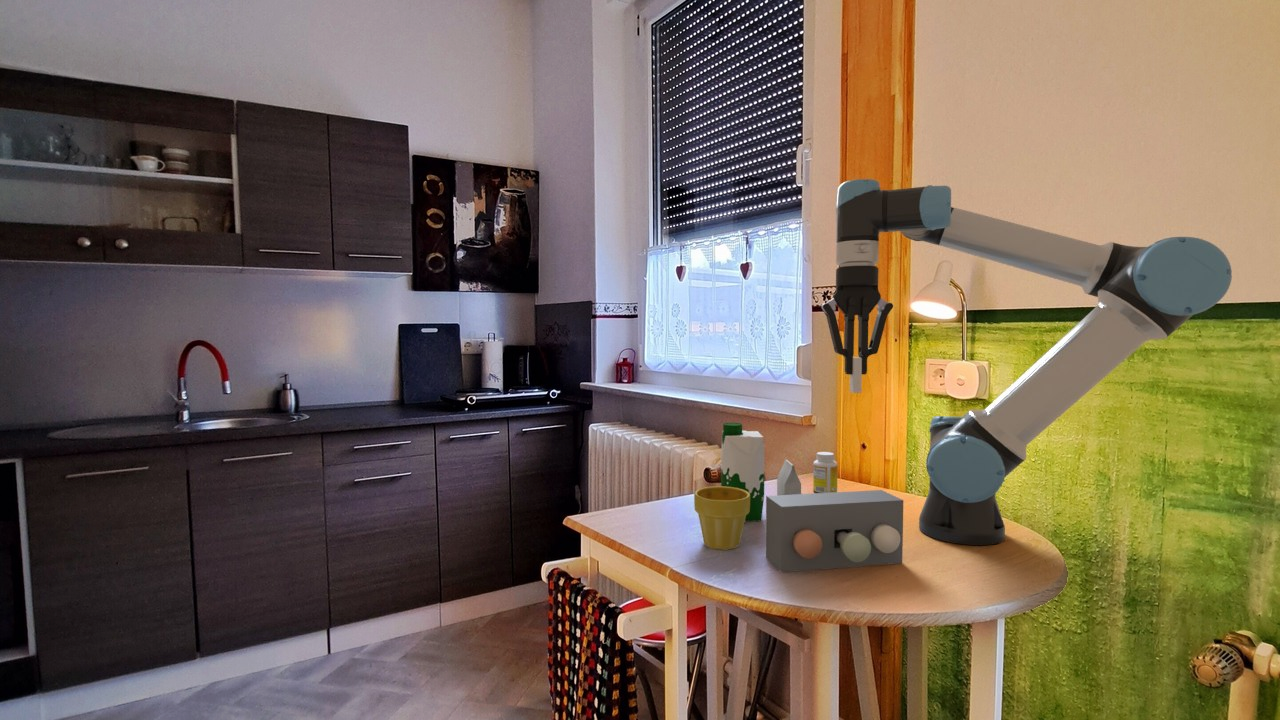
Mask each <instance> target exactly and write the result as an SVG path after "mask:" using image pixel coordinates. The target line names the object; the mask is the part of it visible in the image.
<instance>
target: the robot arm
mask: <svg viewBox="0 0 1280 720" xmlns="http://www.w3.org/2000/svg"><path fill="white" fill-rule="evenodd" d="M836 200H837V201H836V207H835V213H836V218H835V219H836V220H835V221H836V228H835V229H836V245H835V247H836V248H835V250H836V251H835V253H836V254H835V255H836V256H835V259H836V260H835V264H836V265H838V266H839V267H837V268H836V269H835V292H834V293H833V295H832V299H830V300H828V301H827V302H826V303H821V305H820V309H821V310H822V312H823V313H824V315H825V316H826V320H827V321H826V322H827V325H828V329H829V334H830V338H831V341H832V342H831V343H832V345H833V350H834V353H836V354H837V355H841V356H842V357H843V358H844V373H845V375H849V392H850V393H852V394H855V393H856V394H859V393H860V394H861V393H862V376H863V375H867V373H868V358H869V357H870V356H872V355H876V354H877V353H878V352H879V348H880V345H881V340H882V337H883V335H884V334H883V332H884V329H885V326H886V322H887V318H888V315H889V314H890V312H891V310H892V309H893V308H894V304H893V303H892V302H888V301H886V300H884V299H883V298H882V295H881V293H880V290H879V267H878V266H876V264H878V263H879V241H880V233H889V232H890V233H891V232H901V233H902V235H903V236H904V237H905V238H907V239H909V240H911V241H915V242H925V243H929V244H932V245H936V246H940V247H943V248H947V249H949V250H950V249H951V250H954V251H958V252H960V253H965V254H968V255H971V256H974V257H975V256H976V257H979V258H981V259H982V258H983V259H986V260H988V261H989V260H990V261H991V262H992V261H993V262H996V263H999V264H1002V265H1006V266H1010V267H1013V268H1017V269H1020V270H1023V271H1027V272H1031V273H1035V274H1037V275H1041V276H1044V277H1048V278H1050V279H1054V280H1058V281H1060V282H1061V281H1063V282H1065V283H1068V284H1073V285H1076V286H1079V287H1081V288H1082V290H1083V292H1084V294H1086V295H1088V296H1093V297H1095V298H1097V305H1096V307H1094V308H1093V309H1092V310H1091V311H1090V312H1089V313H1088V314H1087V315H1086V316H1085V317H1083V319H1081V320H1080V321H1079V322H1078V323H1077V324H1076V325H1075V326H1073V328H1072V329H1070V330H1069V331H1068V332H1067V333H1066V334H1065V335H1064V336H1063V337H1061V338H1060V339H1059V340H1058V341H1057V342H1056V343H1055V344H1054V345H1053V346H1052V347H1051V348H1050V349H1049V350H1047V352H1045V353H1044V354H1043V355H1042V356H1041V357H1040V358H1039V359H1038V360H1037V361H1035V363H1033V365H1031V366H1030V367H1029V368H1028V369H1027V370H1025V372H1024V373H1022V374H1021V375H1020V376H1019V377H1018V378H1017V379H1015V381H1013V383H1011V384H1010V385H1009V386H1008V388H1005V390H1004V391H1003V392H1002V393H1001V394H999V396H998V397H996V398H995V399H994V400H993V401H992V402H991V403H990V404H989V405H988V406H987V407H986V408H984V409H970V410H968V411H967V412H966V413H965V414H964V415H963V416H946V415H945V416H944V415H943V416H942V415H937V416H933V417H932V418H931V419H930V426H929V430H928V431H929V433H930V435H929V436H930V438H929V439H930V440H929V450H928V454H927V457H926V462H925V463H926V464H925V465H926V467H925V468H926V471H927V474H928V477H929V487H928V489H929V490H928V494H927V496H926V499H925V502H924V504H923V507H922V508H921V512H920V514H919V521H918V528H919V531H920V532H921V533H923V534H925V535H927V536H929V537H931V538H934V539H936V540H941V541H944V542H948V543H954V544H960V545H968V546H970V545H971V546H989V545H990V546H991V545H997V544H1001V543H1003V542H1004V541H1005V539H1006V526H1005V523H1004V519H1003V516H1002V514H1001V511H1000V507H999V505H998V502H997V499H996V493H997V492H998V491H999V490H1000V488H1001V487H1002V485H1003V483H1004V481H1005V478H1006V477H1007V476H1009V474H1010V473H1012V472H1013V471H1014V470H1016V469H1017V467H1018V466H1020V465H1021V464H1022V463H1023V462H1024V461H1025V460H1027V446H1028V444H1030V443H1031V442H1032V441H1033V440H1035V438H1037V437H1038V436H1039V435H1040V434H1041V433H1043V432H1044V431H1045V430H1046V429H1047V428H1048V427H1049V426H1051V425H1052V424H1053V423H1054V422H1055V421H1056V420H1058V418H1060V417H1061V416H1062V415H1063V414H1065V413H1066V412H1067V411H1068V410H1069V409H1070V408H1071V407H1072V406H1074V405H1075V404H1076V403H1077V402H1078V401H1079V400H1080V399H1082V397H1084V396H1085V395H1086V394H1088V393H1089V392H1090V391H1091V390H1092V389H1093V388H1094V387H1096V385H1097V384H1099V383H1100V382H1101V381H1102V380H1103V379H1105V378H1106V377H1107V376H1108V375H1109V374H1110V373H1112V371H1114V370H1115V369H1116V368H1117V367H1118V366H1119V365H1121V364H1122V363H1123V362H1124V361H1125V360H1126V359H1128V358H1129V357H1130V356H1131V355H1132V354H1133V353H1134V352H1136V351H1137V349H1139V348H1140V347H1141V346H1142V345H1143V344H1144V343H1146V342H1148V341H1150V340H1151V341H1152V340H1153V341H1155V340H1165V339H1167V338H1168V337H1169V336H1170V335H1172V334H1173V333H1174V332H1175V331H1177V329H1179V328H1180V327H1181V326H1182V325H1183V324H1184V323H1186V321H1187V320H1189V319H1190V318H1191V317H1193V315H1198V314H1201V313H1202V312H1205V311H1207V310H1208V309H1211V308H1212V307H1214V306H1215V305H1216V304H1217V303H1218V302H1220V301H1221V300H1222V299H1223V298H1224V297H1225V295H1226V294H1227V292H1228V291H1229V289H1230V286H1231V284H1232V283H1231V282H1232V277H1233V276H1232V266H1231V263H1230V260H1229V259H1228V256H1227V255H1225V253H1224V252H1223V251H1222V249H1220V248H1219V247H1218V246H1217V245H1215V244H1214V243H1212V242H1210V241H1208V240H1205V239H1203V238H1198V237H1193V236H1172V237H1167V238H1163V239H1160V240H1157V241H1155V242H1154V243H1153V244H1151V245H1148V246H1132V245H1125V244H1121V243H1118V242H1117V243H1116V242H1114V241H1113V242H1112V241H1110V242H1107V243H1105V244H1095V243H1092V242H1088V241H1084V240H1081V239H1076V238H1073V237H1068V236H1066V235H1062V234H1057V233H1054V232H1049V231H1046V230H1042V229H1037V228H1033V227H1030V226H1027V225H1022V224H1019V223H1015V222H1011V221H1008V220H1004V219H1003V220H1002V219H999V218H996V217H992V216H987V215H984V214H980V213H978V212H977V213H976V212H972V211H969V210H965V209H960V208H957V207H954V206H952V189H951V187H950V186H948V185H931V184H930V185H929V184H928V185H926V186H918V187H917V186H916V187H909V188H898V189H886V190H885V189H881V185H880V181H878V180H876V179H871V178H865V179H863V178H859V179H857V178H856V179H850V180H847V181H844V182H843V183H841V184H840V185H839V187H838V188H837V199H836ZM836 306H837V307H838V308H839V310H840V311H841V313H842V314H843V320H844V336H843V337H844V339H843V340H842V338H841V333H840V329H839V324H838V320H837V316H836V313H835V312H836V309H837V308H836ZM876 306H877V309H876V310H877V311H878V312H877V314H876V317H875V321H874V326H873V328H872V333H871V337H870V341H869V320H870V314H871V312H872V311H873V310H874V308H875V307H876ZM856 316H857V320H858V321H857V322H858V331H857V332H858V333H857V334H858V338H857V340H858V341H857V344H858V345H857V347H858V348H857V354H858V356H857V357H855V356H854V353H855V350H854V349H855V321H856V320H855V319H856Z"/></svg>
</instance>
